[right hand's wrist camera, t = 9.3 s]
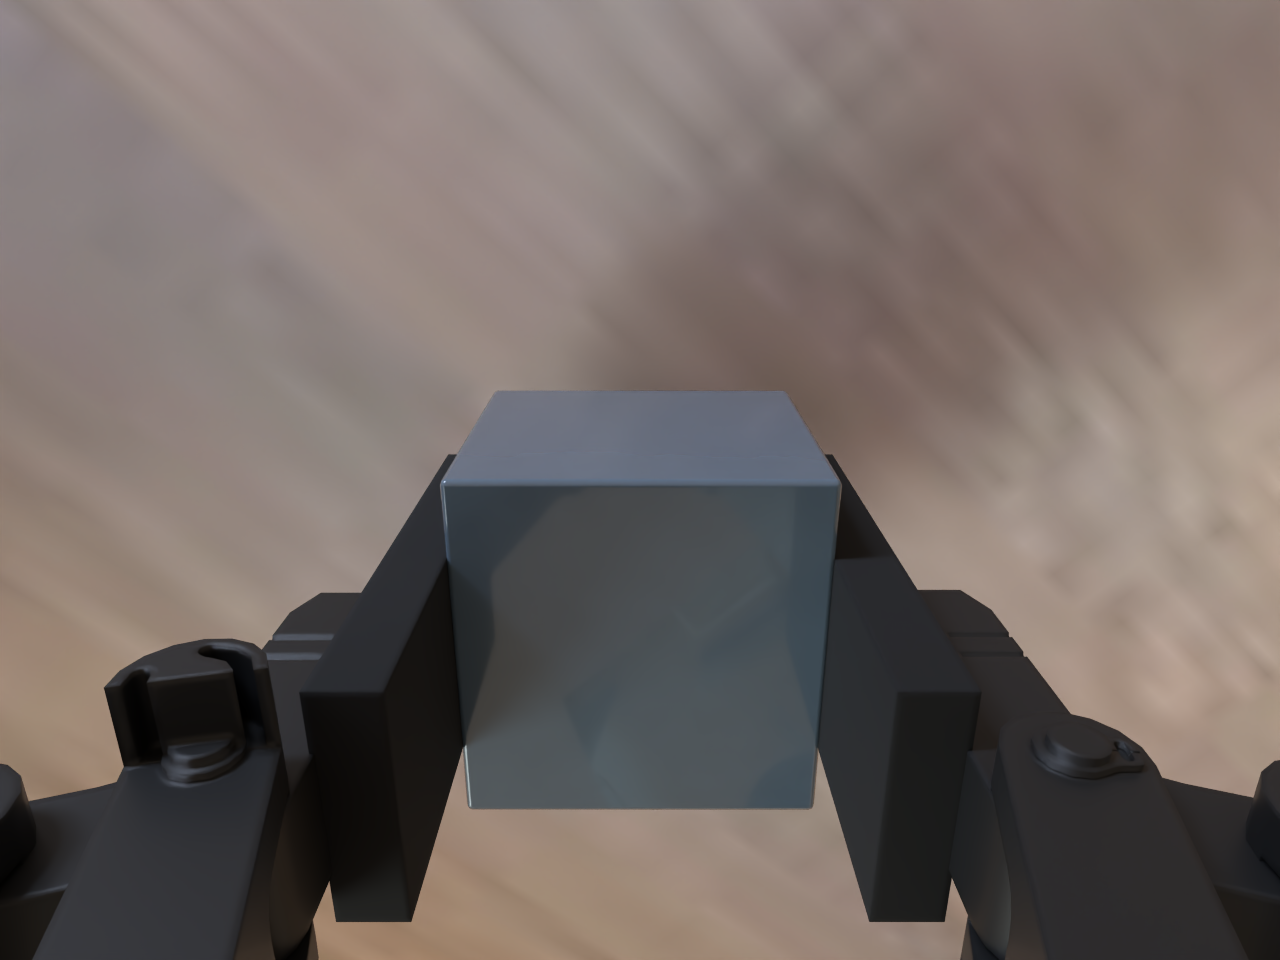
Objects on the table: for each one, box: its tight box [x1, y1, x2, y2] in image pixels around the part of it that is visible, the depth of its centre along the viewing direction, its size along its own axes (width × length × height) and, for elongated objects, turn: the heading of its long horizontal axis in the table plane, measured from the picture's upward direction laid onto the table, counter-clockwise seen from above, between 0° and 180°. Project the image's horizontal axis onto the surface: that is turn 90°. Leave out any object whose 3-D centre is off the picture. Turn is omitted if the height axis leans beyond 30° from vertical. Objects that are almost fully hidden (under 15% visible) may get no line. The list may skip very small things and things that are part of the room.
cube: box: [440, 391, 842, 809], centre depth 13 cm, size 5×5×4 cm
